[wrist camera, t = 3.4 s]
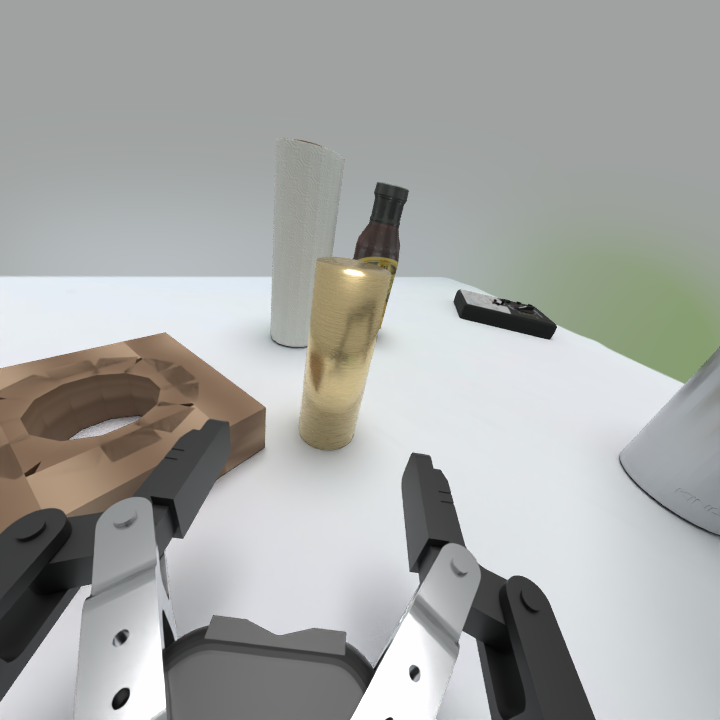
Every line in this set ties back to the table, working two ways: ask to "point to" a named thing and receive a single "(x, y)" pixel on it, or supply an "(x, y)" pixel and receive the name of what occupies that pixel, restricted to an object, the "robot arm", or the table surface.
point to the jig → (102, 402)
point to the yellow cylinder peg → (340, 347)
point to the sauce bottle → (383, 231)
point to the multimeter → (503, 314)
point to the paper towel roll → (301, 232)
